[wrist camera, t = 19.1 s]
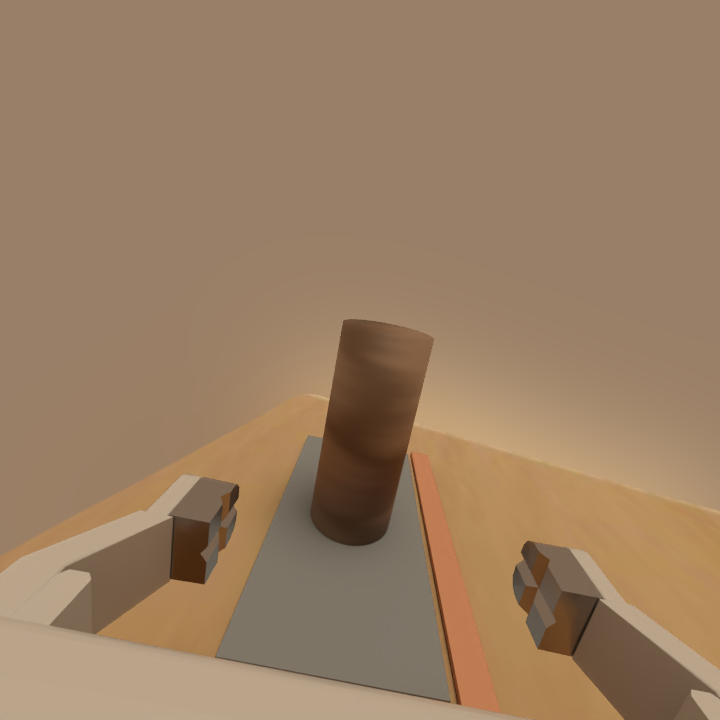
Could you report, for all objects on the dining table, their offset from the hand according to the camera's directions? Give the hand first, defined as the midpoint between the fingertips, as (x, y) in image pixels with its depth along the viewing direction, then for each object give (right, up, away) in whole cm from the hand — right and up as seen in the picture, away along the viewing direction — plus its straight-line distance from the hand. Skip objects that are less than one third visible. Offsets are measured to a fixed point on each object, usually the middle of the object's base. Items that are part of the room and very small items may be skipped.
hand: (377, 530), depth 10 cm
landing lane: (0, -6, +12) cm, 13 cm away
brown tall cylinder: (-1, -5, +12) cm, 13 cm away
